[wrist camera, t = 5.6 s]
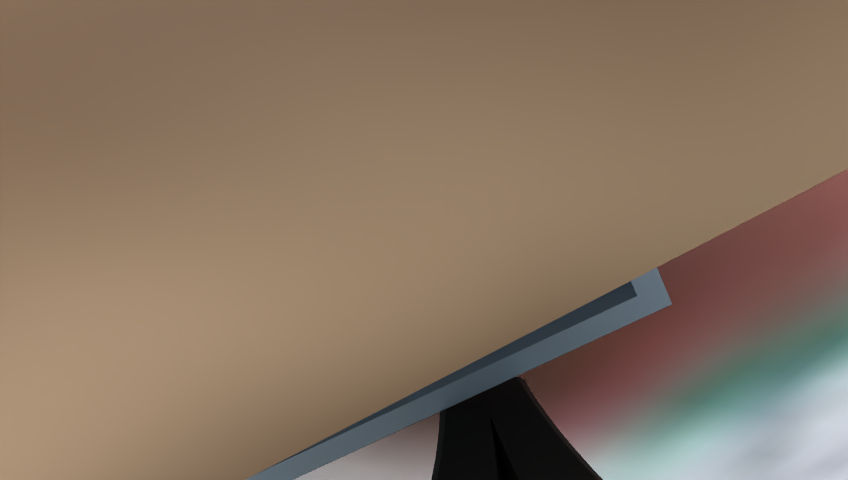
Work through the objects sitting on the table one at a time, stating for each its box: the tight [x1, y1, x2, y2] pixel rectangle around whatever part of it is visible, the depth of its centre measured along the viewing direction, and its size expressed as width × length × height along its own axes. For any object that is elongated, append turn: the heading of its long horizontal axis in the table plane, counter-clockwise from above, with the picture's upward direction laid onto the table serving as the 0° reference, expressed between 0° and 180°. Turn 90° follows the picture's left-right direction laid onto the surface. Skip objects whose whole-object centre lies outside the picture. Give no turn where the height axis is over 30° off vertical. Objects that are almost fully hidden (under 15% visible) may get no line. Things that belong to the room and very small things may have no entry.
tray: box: [246, 268, 672, 480], centre depth 10 cm, size 8×7×2 cm
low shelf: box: [0, 0, 848, 480], centre depth 8 cm, size 8×16×4 cm, turn 120°
